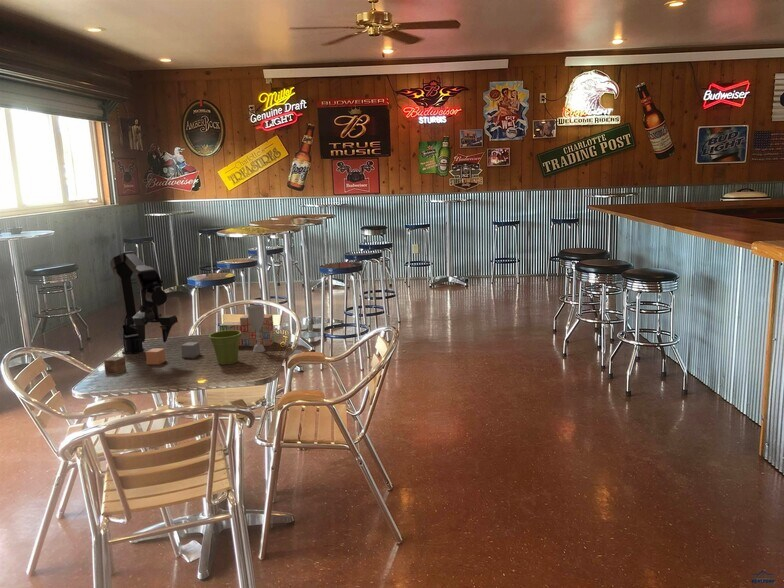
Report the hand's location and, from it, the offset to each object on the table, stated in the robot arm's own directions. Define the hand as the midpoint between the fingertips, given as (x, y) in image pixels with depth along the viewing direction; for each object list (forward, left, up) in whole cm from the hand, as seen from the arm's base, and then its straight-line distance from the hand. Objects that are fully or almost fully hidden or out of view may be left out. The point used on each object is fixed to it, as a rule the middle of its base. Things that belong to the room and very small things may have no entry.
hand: (154, 341), depth 233 cm
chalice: (+34, +19, -8) cm, 40 cm away
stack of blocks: (+25, +29, -8) cm, 39 cm away
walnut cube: (-9, -12, -8) cm, 17 cm away
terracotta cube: (0, 0, -8) cm, 8 cm away
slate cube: (+9, +10, -8) cm, 16 cm away
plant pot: (+29, +2, -8) cm, 30 cm away
